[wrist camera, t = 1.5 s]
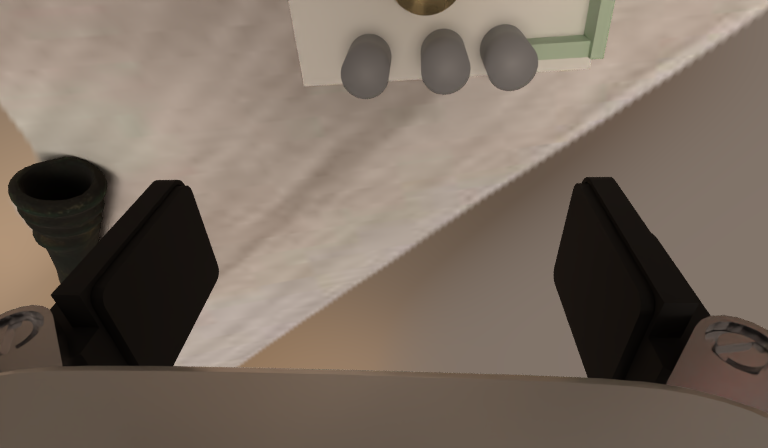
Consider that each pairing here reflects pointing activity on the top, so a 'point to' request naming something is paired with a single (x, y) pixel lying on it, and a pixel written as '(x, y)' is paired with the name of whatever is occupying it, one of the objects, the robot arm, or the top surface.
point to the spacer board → (410, 28)
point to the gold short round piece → (425, 6)
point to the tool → (61, 207)
